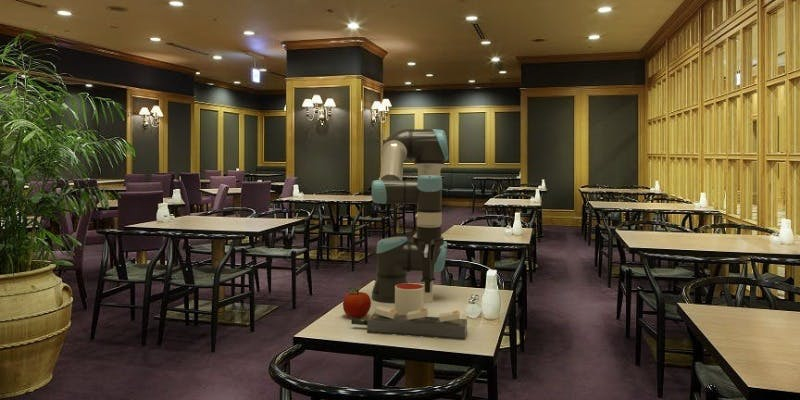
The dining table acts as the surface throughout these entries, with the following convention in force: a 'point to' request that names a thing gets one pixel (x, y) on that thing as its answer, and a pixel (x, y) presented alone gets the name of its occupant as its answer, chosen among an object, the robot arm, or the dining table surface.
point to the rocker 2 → (417, 314)
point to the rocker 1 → (385, 312)
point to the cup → (408, 298)
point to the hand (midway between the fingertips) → (427, 302)
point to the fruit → (356, 304)
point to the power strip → (415, 326)
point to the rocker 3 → (449, 316)
